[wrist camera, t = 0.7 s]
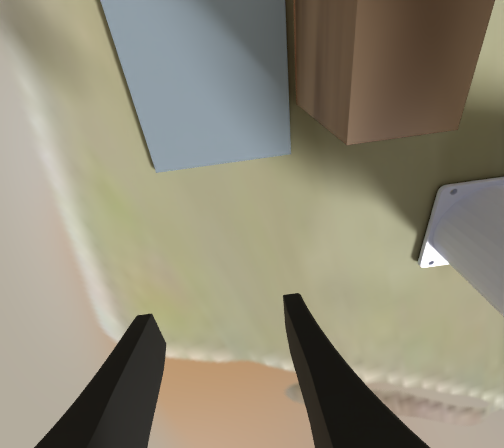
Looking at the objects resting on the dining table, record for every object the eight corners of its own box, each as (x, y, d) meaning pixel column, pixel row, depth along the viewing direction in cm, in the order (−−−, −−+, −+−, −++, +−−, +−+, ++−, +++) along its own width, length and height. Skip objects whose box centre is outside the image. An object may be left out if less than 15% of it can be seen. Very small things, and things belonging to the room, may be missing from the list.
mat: (279, -116, 12) (280, -120, 12) (290, 152, 19) (290, 153, 18) (74, -88, 12) (70, -91, 12) (157, 170, 18) (156, 172, 18)
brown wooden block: (372, -37, 14) (531, -127, 7) (360, 94, 17) (457, 129, 10) (292, -26, 14) (365, -104, 7) (296, 103, 17) (346, 145, 10)
